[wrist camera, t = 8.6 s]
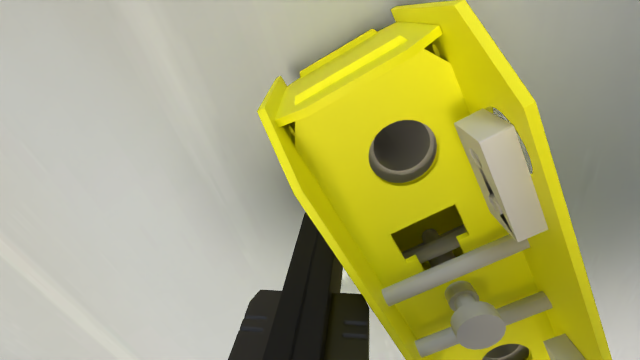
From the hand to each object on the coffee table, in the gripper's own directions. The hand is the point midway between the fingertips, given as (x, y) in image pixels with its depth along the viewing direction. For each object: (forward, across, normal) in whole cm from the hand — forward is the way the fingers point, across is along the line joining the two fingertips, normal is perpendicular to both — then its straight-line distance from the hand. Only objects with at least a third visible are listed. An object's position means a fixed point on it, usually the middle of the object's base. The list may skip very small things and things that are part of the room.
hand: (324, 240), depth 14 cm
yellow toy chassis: (+3, +4, 0) cm, 5 cm away
